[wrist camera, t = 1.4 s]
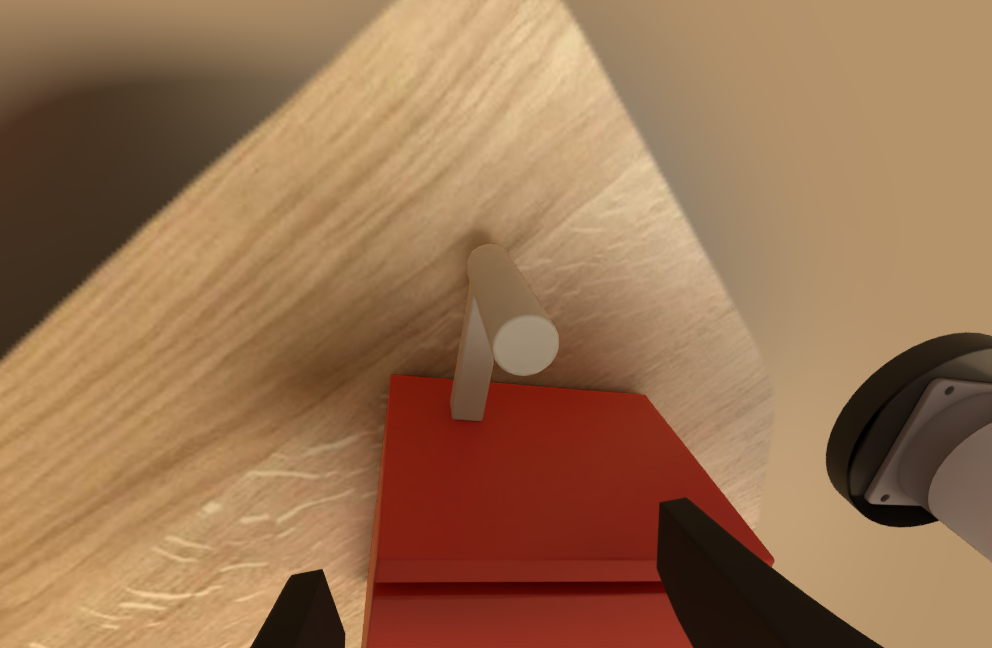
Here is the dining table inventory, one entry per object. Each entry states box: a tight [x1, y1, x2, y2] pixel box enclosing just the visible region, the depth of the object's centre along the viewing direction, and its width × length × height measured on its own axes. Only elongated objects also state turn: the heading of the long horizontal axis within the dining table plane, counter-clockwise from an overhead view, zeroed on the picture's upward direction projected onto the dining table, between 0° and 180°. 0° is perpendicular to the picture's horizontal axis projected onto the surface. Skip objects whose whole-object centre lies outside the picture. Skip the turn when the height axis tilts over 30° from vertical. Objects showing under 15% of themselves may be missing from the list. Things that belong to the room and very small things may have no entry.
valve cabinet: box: [361, 402, 693, 648], centre depth 18 cm, size 10×10×8 cm
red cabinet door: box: [374, 244, 774, 583], centre depth 14 cm, size 6×10×8 cm, turn 80°
